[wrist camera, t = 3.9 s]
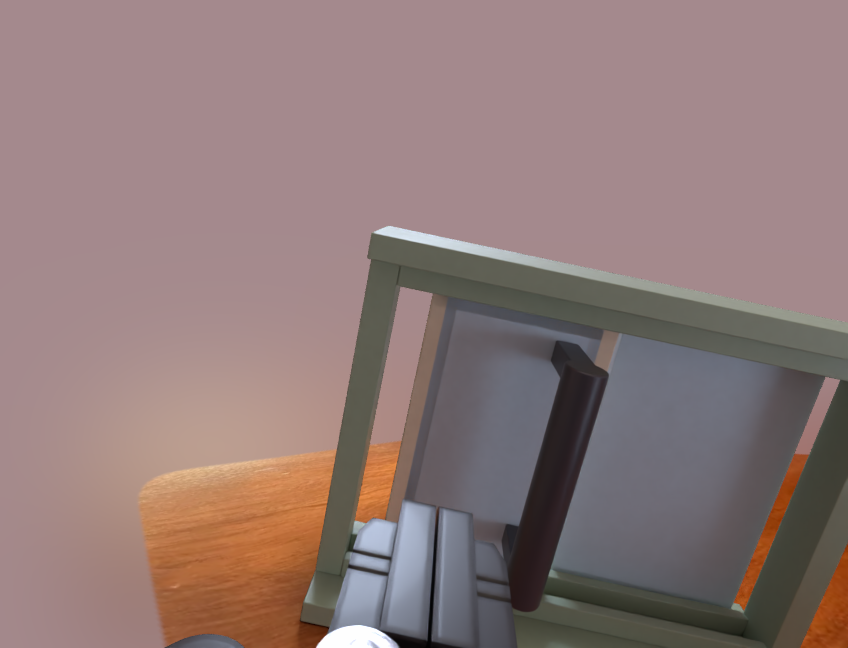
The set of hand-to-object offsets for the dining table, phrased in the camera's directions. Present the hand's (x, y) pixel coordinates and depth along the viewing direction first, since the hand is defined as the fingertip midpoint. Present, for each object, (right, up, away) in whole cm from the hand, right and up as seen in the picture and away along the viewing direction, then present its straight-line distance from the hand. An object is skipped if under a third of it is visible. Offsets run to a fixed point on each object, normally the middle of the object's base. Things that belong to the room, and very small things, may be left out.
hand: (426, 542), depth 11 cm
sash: (+1, -8, +13) cm, 15 cm away
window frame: (+6, -10, +15) cm, 19 cm away
